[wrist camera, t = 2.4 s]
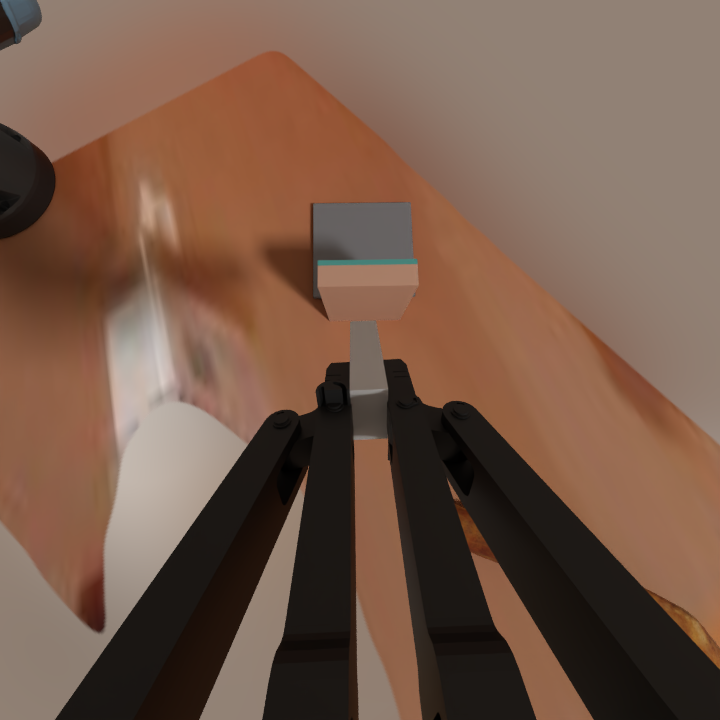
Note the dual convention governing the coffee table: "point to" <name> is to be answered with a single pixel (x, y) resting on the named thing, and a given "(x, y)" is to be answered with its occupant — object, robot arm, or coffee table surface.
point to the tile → (367, 288)
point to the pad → (360, 233)
